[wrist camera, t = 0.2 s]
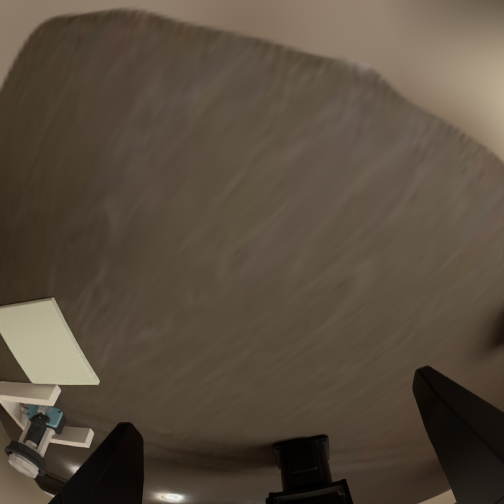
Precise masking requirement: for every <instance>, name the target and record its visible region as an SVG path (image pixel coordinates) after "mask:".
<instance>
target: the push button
mask: <svg viewBox="0 0 504 504" xmlns="http://www.w3.org/2000/svg"><path fill="white" fill-rule="evenodd" d="M23 404H24V406H25V407H28V408H29V409H24V408H22V407H21V410H22V411H23V412H26V415H27V417H28V419H29V420H27V425H26V427H25V429H24V431H23V433H22V435H21V437H20V439H19V441H18V442H16V441H11V443H10V444H9V446H7V447H6V448H5V452H6V454H7V455H8V456H9V457H10V458H9V463H10V464H11V465H12V466H13V467H14V468H15V469H17V470H18V471H20V472H21V473H23V474H25V475H27V476H29V477H31V478H35V477H36V475H40V476H44V475H45V473H46V471H45V468H46V465H47V464H46V462H45V460H44V458H43V456H44V454H45V451H46V449H47V446H48V444H49V442H50V439H51V437H52V435H54V434H55V433H56V434H61V432H62V430H63V428H64V425H65V423H66V419H65V417H64V415H63V413H62V411H61V410H60V409H57V408H54V407H51V406H46V405H36V404H26V403H23ZM26 405H27V406H26ZM23 409H24V410H25V411H24V410H23Z"/></svg>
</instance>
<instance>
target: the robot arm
mask: <svg viewBox="0 0 504 504" xmlns="http://www.w3.org/2000/svg"><path fill="white" fill-rule="evenodd" d="M412 389H413V393H414V396H415V399H416V402H417V405H418V408H419V411H420V414H421V417H422V420H423V423H424V426H425V429H426V432H427V434H428V436H429V439H430V441H431V443H432V445H433V447H434V450H435V452H436V454H437V456H438V459H439V461H440V463H441V465H442V468H443V470H444V472H445V475H446V477H447V480H448V482H449V484H450V487H451V489H452V492H453V494H454V496H455V499H456V502H457V504H504V412H503V411H501V410H499V409H498V408H496V407H494V406H493V405H491V404H490V403H488V402H486V401H485V400H483V399H482V398H480V397H478V396H477V395H475V394H474V393H472V392H470V391H469V390H467V389H465V388H464V387H462V386H461V385H459V384H457V383H456V382H454V381H453V380H451V379H449V378H448V377H446V376H445V375H443V374H441V373H440V372H438V371H437V370H435V369H433V368H432V367H430V366H424V367H421V368H418V369H417V370H416V371H415V375H414V380H413V386H412ZM273 451H274V454H275V457H276V461H277V464H278V467H279V469H281V479H282V488H283V492H277V493H274V492H271V493H269V497H268V498H266V504H353V501H352V498H351V495H350V491H349V488H348V485H347V482H346V479H342V480H340V481H336V482H332V477H331V472H330V468H329V463H328V460H329V439H328V436H327V435H324V436H319V437H314V438H309V439H304V440H298V441H293V442H287V443H280V444H275V445H273ZM143 483H144V454H143V437H142V435H141V434H140V433H139V431H138V430H137V429H136V428H135V427H134V425H133V424H132V423H130V422H120V423H118V424H117V425H116V426H115V428H114V429H113V430H112V431H111V432H110V433H109V435H108V436H107V437H106V438H105V439H104V440H103V442H102V443H101V444H100V445H99V446H98V447H97V448H96V450H95V451H94V452H93V453H92V454H91V455H90V457H89V458H88V459H87V460H86V461H85V462H84V463H83V465H82V466H81V467H80V468H79V469H78V470H77V471H76V473H75V474H74V475H73V476H72V477H71V478H70V480H69V481H68V482H67V483H66V484H65V485H64V486H63V488H62V489H61V490H60V492H58V493H57V494H56V495H55V497H54V498H53V499H52V500H51V501H50V502H49V503H48V504H142V495H143Z"/></svg>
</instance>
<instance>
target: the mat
mask: <svg viewBox="0 0 504 504" xmlns="http://www.w3.org/2000/svg"><path fill="white" fill-rule="evenodd" d="M0 333H1V335H2V336H3V338H4V340H5V342H6V343H7V345H8V347H9V348H10V350H11V351H12V353H13V355H14V356H15V358H16V359H17V361H18V363H19V364H20V366H21V367H22V369H23V370H24V372H25V373H26V375H27V376H28V377H29V379H30V380H31V382H32V383H36V384H64V385H99V382H100V380H99V379H98V377H97V376H96V374H95V372H94V371H93V369H92V368H91V366H90V364H89V363H88V361H87V359H86V358H85V356H84V354H83V352H82V351H81V349H80V347H79V345H78V344H77V342H76V340H75V338H74V336H73V334H72V333H71V331H70V329H69V327H68V325H67V323H66V321H65V319H64V317H63V315H62V313H61V311H60V309H59V307H58V305H57V303H56V301H55V299H54V297H52V298H46V299H40V300H35V301H29V302H23V303H17V304H11V305H5V306H0Z"/></svg>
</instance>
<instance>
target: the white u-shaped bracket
mask: <svg viewBox="0 0 504 504" xmlns="http://www.w3.org/2000/svg"><path fill="white" fill-rule="evenodd" d="M60 392H61V390H60V388H59V387H58V385H57V384H34V383H18V382H6V381H1V382H0V403H1V405H2V406H3V407H4V408H5V410H6V411H7V412H8V413H9V414H10V416H11V417H12V418H13V419H14V420H15V421H16V423H17V424H18V425H19V426H20V427H21V428H22V429H23V430H24V429H25V427H26V425H27V420H29V419H28V417H27V415H26V412H23V411H22V410H21V407H22V408H24V409H26V408H25V407H24V406H23V404H22V403H28V404H36V405H46V406H54V404H55V402H56V400H57V398H58V396H59V394H60ZM24 409H23V410H24ZM24 411H25V410H24ZM93 435H94V432H93V431H92V430H91V428H80V427H70V426H64V428H63V430H62V432H61V434H56V433H55V434H54V435H52V437H51V439H50V442H52V443H58V444H64V445H71V446H79V447H87V448H89V446H90V444H91V441H92V438H93Z"/></svg>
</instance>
